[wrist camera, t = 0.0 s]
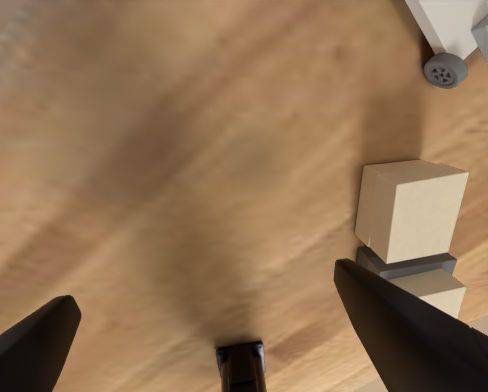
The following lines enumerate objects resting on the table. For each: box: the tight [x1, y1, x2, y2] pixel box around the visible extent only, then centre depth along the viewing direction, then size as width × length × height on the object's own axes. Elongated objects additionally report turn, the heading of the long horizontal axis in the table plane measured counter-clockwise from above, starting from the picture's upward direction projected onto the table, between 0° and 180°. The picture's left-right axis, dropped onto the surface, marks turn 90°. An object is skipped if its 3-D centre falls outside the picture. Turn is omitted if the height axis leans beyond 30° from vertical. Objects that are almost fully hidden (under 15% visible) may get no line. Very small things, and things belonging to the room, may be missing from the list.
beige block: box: [355, 160, 469, 264], centre depth 22 cm, size 8×6×5 cm
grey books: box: [356, 247, 457, 280], centre depth 27 cm, size 10×9×4 cm
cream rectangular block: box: [388, 268, 466, 319], centre depth 24 cm, size 8×6×3 cm
